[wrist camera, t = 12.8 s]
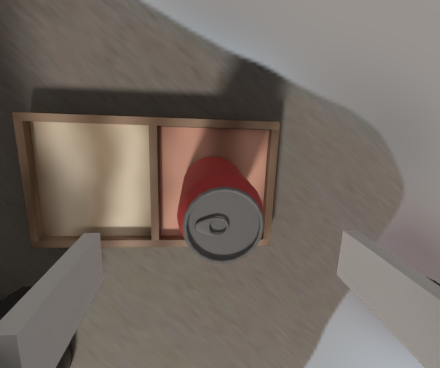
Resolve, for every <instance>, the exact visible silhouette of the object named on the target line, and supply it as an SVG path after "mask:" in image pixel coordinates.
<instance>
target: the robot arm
mask: <svg viewBox="0 0 440 368" xmlns="http://www.w3.org/2000/svg"><path fill="white" fill-rule="evenodd" d="M337 275H338V276H339V277H340V279H341V280H342V281H343V282H344V283H345V284H346V285H347V286H348V287H349V288H350V289H351V290H352V291H353V292H354V293H355V294H356V295H357V296H358V298H359V299H360V300H361V301H363V303H364V304H365V305H366V306H367V307H368V308H369V309H370V310H371V311H372V312H373V313H374V314H375V316H376V317H377V318H378V319H379V320H380V321H381V322H382V323H383V324H384V325H385V326H386V327H387V328H388V329H389V330H390V331H391V332H392V334H393V335H394V336H395V337H396V338H397V339H398V340H399V341H400V342H401V343H402V344H403V345H404V346H405V347H406V348H407V349H408V350H409V351H410V352H411V354H412V355H413V356H414V357H415V358H416V359H417V360H418V361H419V362H420V363H421V364H422V365H423V366H424V367H425V368H440V284H439V283H437V282H436V281H434V280H431V279H429V278H427V277H425V276H423V275H422V274H420V273H419V272H418V271H416V270H415V269H413V268H412V267H410V266H409V265H407V264H406V263H404V262H403V261H401V260H400V259H398V258H397V257H395V256H393V255H392V254H390V253H389V252H387V251H386V250H385V249H383V248H382V247H380V246H379V245H377V244H376V243H374V242H373V241H371V240H370V239H368V238H367V237H365V236H364V235H362V234H361V233H359V232H358V231H356V230H351V231H343V236H342V242H341V249H340V255H339V262H338V269H337ZM103 281H104V280H103V267H102V253H101V239H100V233H84V234H83V235H82V236H81V237H80V238H79V239H78V240H77V241H76V242H75V243H74V244H73V245H72V246H71V247H70V248H69V249H68V250H67V251H66V252H65V254H64V255H63V256H62V257H61V258H60V259H59V260H58V261H57V262H56V263H55V264H54V265H53V266H52V267H51V268H50V269H49V270H48V271H47V272H46V273H45V274H44V275H43V276H42V277H41V278H40V280H39V281H38V282H37V283H36V284H35V285H34V286H33V287H22V288H21V289H19V290H17V291H16V292H14V293H12V294H10V295H9V296H8V297H7V298H6V299H4V300H3V301H2V302H1V303H0V368H70V364H71V348H70V344H69V343H70V341H71V339H72V337H73V336H74V334H75V332H76V330H77V328H78V326H79V325H80V323H81V321H82V319H83V317H84V316H85V314H86V312H87V310H88V308H89V307H90V305H91V303H92V301H93V299H94V297H95V296H96V294H97V292H98V290H99V288H100V287H101V285H102V283H103Z"/></svg>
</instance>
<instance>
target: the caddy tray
mask: <svg viewBox="0 0 440 368" xmlns="http://www.w3.org/2000/svg"><path fill="white" fill-rule="evenodd" d="M12 117H13V124H14V131H15V138H16V145H17V152H18V159H19V166H20V173H21V180H22V187H23V194H24V201H25V208H26V215H27V222H28V229H29V236H30V243H31V248H70V247H71V246H72V245H73V244H74V243H75V242H76V241H77V240H78V239H79V238H80V237H81V236H82V235H83V234H84V233H100V239H101V247H189V246H188V245H187V243H186V241H185V239H184V237H183V235H182V234H181V232H180V229H179V225H178V220H177V211H178V205H179V200H180V195H181V190H182V185H183V180H184V176H185V174H186V172H187V170H188V168H189V167H191V166H192V165H193V164H194V163H195V162H196V161H198V160H200V159H202V158H204V157H212V156H216V157H221V158H225V159H226V160H228V161H230V162H232V163H233V164H234V165H235V166H236V167H237V168H238V170H239V171H240V172H241V173H242V174H243V175H244V176H245V178H246V179H247V180H248V181H249V182H250V183H251V185H252V186H253V187H254V188H255V189H256V190H257V192H258V194H259V196H260V199H261V201H262V203H263V214H264V229H263V234H262V238H261V240H260V241H259V243H258V245H257V246H270V235H271V223H272V212H273V200H274V188H275V177H276V165H277V153H278V142H279V130H280V122H268V121H241V120H214V119H187V118H160V117H133V116H106V115H79V114H52V113H25V112H12Z"/></svg>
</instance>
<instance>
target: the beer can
mask: <svg viewBox="0 0 440 368" xmlns="http://www.w3.org/2000/svg"><path fill="white" fill-rule="evenodd" d="M177 220H178V225H179V229H180V232H181V234H182V235H183V237H184V239H185V241H186V243H187V245H188V246H189V248H190V250H191V251H193V252H194V253H195V254H196V255H197V256H198V257H199V258H201V259H204V260H206V261H208V262H211V263H219V264H225V263H231V262H236V261H238V260H240V259H242V258H244V257H246V256H247V255H248V254H249V253H251V252H252V251H253V250H254V249H255V248H256V246H257V245H258V243H259V241H260V240H261V238H262V234H263V229H264V214H263V203H262V201H261V199H260V196H259V194H258V192H257V190H256V189H255V188H254V187H253V186H252V185H251V183H250V182H249V181H248V180H247V179H246V178H245V176H244V175H243V174H242V173H241V172H240V171H239V170H238V168H237V167H236V166H235V165H234V164H233V163H232V162H230V161H228V160H226V159H225V158H221V157H216V156H212V157H204V158H202V159H200V160H198V161H196V162H195V163H194V164H193V165H192V166H191V167H189V168H188V170H187V172H186V174H185V176H184V180H183V185H182V190H181V195H180V200H179V205H178V211H177Z"/></svg>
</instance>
